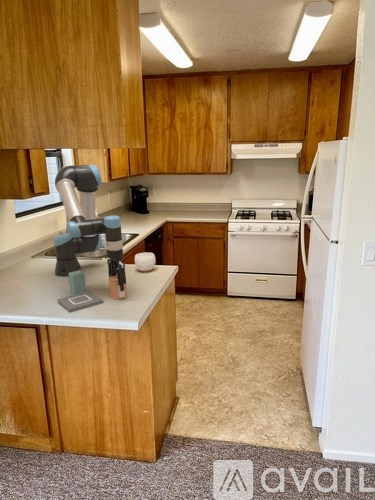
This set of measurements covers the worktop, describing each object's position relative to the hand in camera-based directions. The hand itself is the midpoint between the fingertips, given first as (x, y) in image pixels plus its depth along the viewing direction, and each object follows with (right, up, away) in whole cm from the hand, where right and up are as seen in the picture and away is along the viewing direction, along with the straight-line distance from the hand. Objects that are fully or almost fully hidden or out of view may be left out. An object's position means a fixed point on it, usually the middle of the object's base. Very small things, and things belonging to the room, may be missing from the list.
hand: (118, 294), depth 173 cm
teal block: (-22, +1, +9) cm, 24 cm away
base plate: (-17, -3, -5) cm, 18 cm away
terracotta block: (0, -1, 0) cm, 1 cm away
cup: (+9, +9, +40) cm, 42 cm away
